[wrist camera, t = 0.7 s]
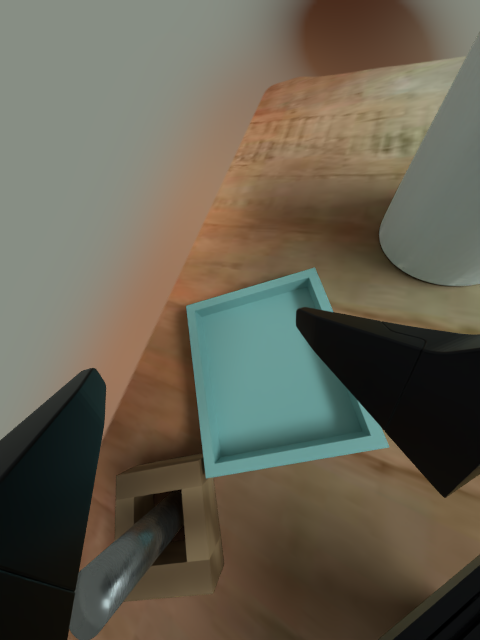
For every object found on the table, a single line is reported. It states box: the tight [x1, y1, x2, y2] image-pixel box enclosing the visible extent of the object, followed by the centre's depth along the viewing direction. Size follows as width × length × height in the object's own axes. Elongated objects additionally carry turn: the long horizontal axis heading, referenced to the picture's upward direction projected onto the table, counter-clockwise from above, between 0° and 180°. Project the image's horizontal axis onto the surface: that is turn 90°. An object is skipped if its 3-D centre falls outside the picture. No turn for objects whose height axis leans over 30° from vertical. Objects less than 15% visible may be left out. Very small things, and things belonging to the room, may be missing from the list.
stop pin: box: [69, 492, 184, 640], centre depth 16 cm, size 3×3×10 cm
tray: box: [186, 268, 389, 478], centre depth 22 cm, size 18×16×3 cm
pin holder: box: [115, 453, 224, 602], centre depth 20 cm, size 9×9×3 cm
